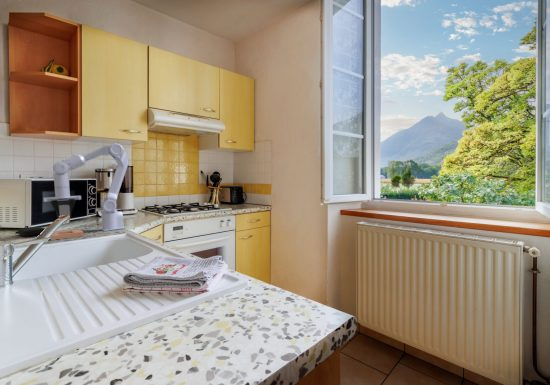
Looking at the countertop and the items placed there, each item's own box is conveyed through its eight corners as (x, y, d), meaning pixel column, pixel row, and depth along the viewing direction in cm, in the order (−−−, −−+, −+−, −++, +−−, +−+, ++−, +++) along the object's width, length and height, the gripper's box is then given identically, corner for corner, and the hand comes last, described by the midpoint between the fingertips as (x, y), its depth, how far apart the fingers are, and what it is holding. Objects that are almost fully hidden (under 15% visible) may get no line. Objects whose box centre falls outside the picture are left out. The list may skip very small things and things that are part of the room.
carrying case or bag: (20, 231, 134) (13, 229, 143) (20, 238, 134) (13, 235, 143) (49, 228, 142) (40, 226, 151) (49, 234, 142) (40, 231, 151)
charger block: (68, 219, 145) (67, 204, 144) (70, 219, 141) (69, 205, 141) (58, 220, 142) (57, 205, 142) (60, 220, 138) (59, 206, 138)
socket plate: (77, 233, 144) (77, 229, 144) (83, 236, 135) (83, 231, 135) (46, 237, 135) (46, 232, 135) (51, 240, 126) (50, 236, 126)
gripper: (78, 186, 149) (80, 213, 149) (41, 188, 139) (43, 216, 139) (81, 186, 144) (83, 214, 144) (43, 188, 134) (45, 218, 134)
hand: (64, 215), depth 141 cm, fingers closed on charger block, 4 cm apart
